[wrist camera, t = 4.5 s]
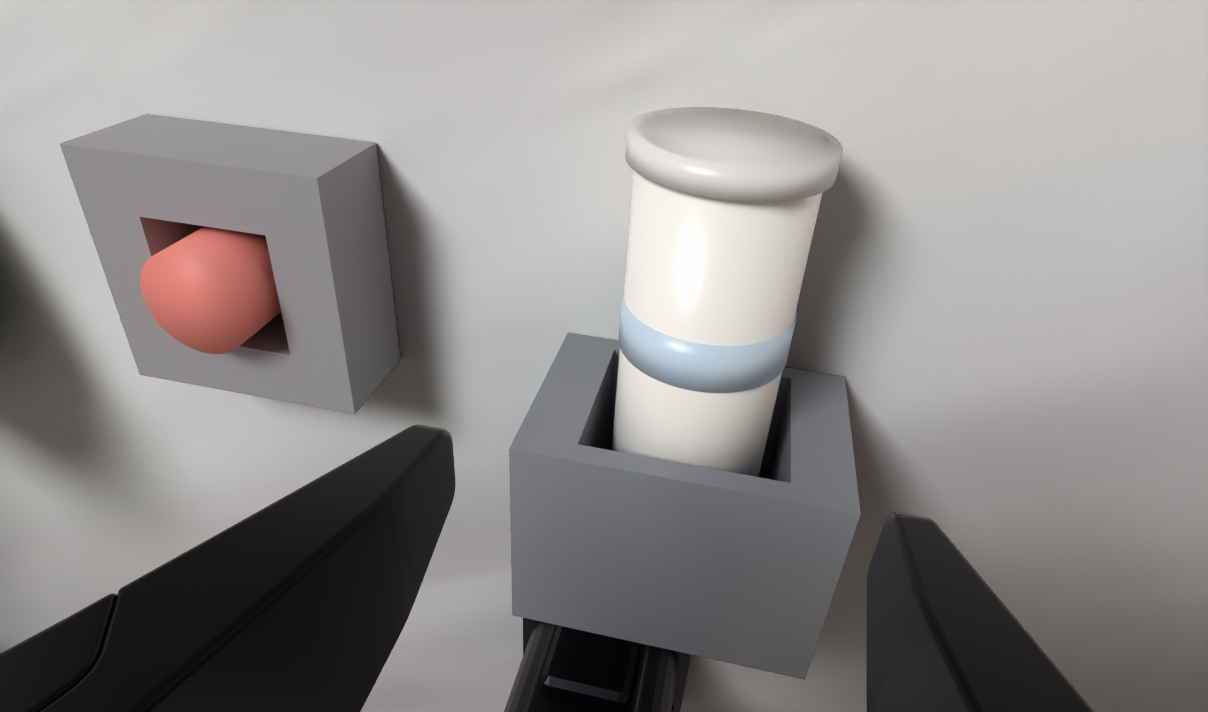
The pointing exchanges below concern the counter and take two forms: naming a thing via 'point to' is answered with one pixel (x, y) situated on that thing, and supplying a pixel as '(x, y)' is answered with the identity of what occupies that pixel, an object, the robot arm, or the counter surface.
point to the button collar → (260, 206)
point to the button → (212, 289)
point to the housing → (681, 522)
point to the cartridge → (713, 279)
